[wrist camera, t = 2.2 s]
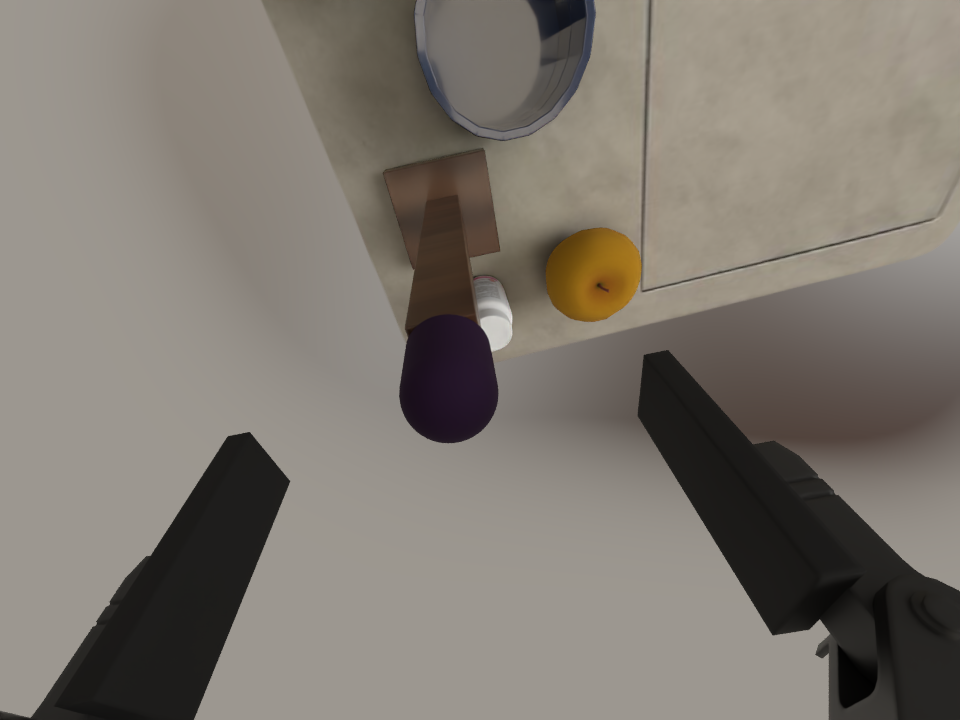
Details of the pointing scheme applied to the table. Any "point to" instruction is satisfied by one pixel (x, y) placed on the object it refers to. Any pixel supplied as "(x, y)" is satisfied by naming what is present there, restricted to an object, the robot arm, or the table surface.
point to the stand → (444, 231)
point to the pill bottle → (493, 311)
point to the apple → (593, 274)
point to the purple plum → (448, 379)
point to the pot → (503, 60)
